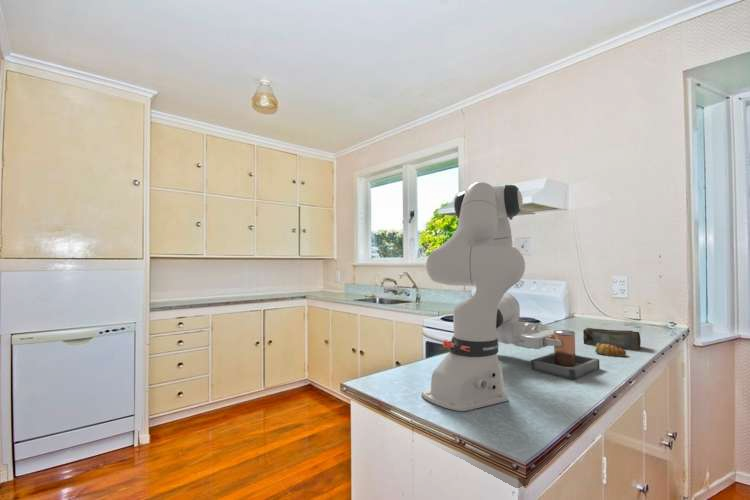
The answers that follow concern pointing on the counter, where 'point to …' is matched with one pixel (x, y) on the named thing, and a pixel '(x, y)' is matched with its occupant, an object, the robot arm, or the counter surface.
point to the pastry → (609, 350)
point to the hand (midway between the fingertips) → (567, 341)
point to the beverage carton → (612, 338)
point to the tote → (581, 369)
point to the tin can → (565, 349)
